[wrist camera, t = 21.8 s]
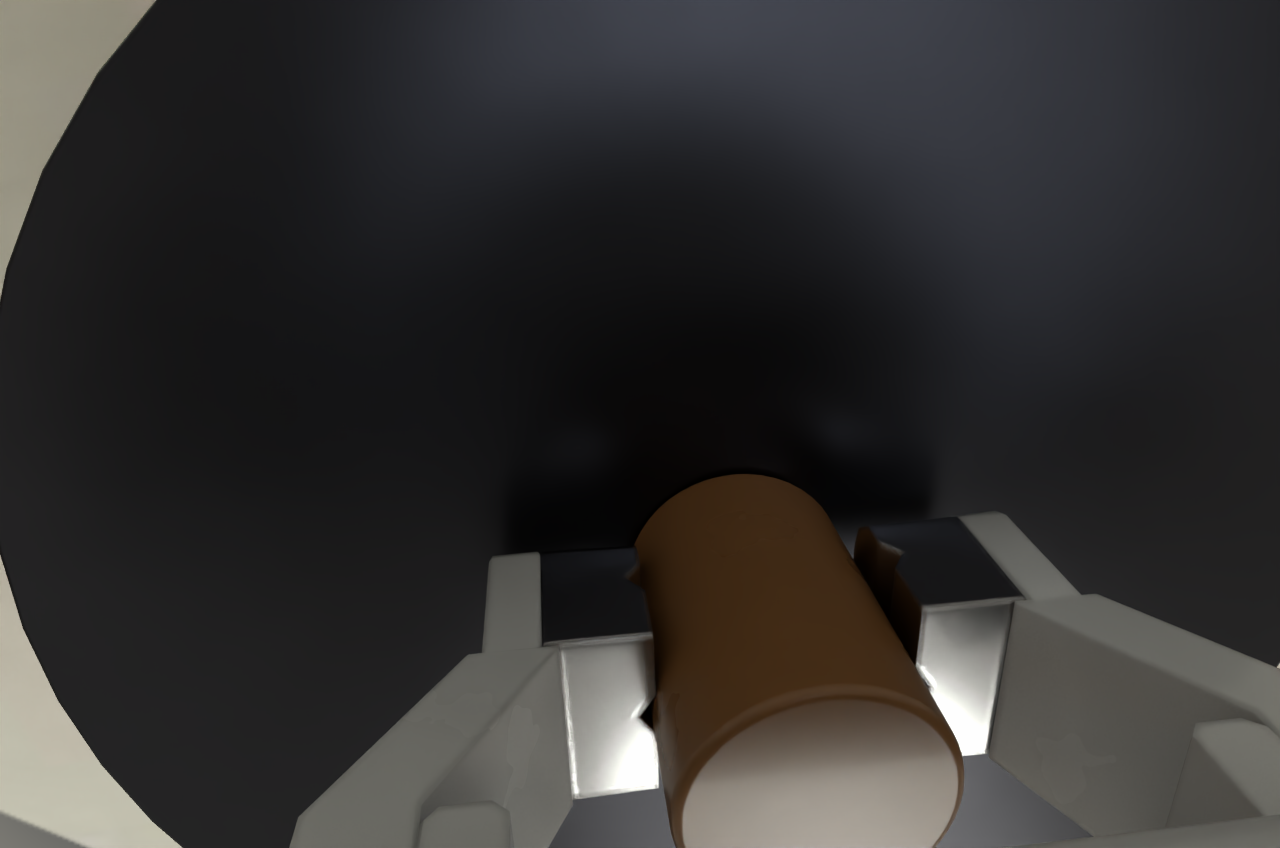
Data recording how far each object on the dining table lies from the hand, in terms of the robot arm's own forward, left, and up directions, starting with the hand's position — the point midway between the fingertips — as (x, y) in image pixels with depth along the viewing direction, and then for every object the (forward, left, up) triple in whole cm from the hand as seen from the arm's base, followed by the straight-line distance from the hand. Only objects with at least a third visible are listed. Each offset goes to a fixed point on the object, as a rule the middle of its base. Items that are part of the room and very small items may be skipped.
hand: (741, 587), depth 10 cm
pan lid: (0, 0, -1) cm, 1 cm away
